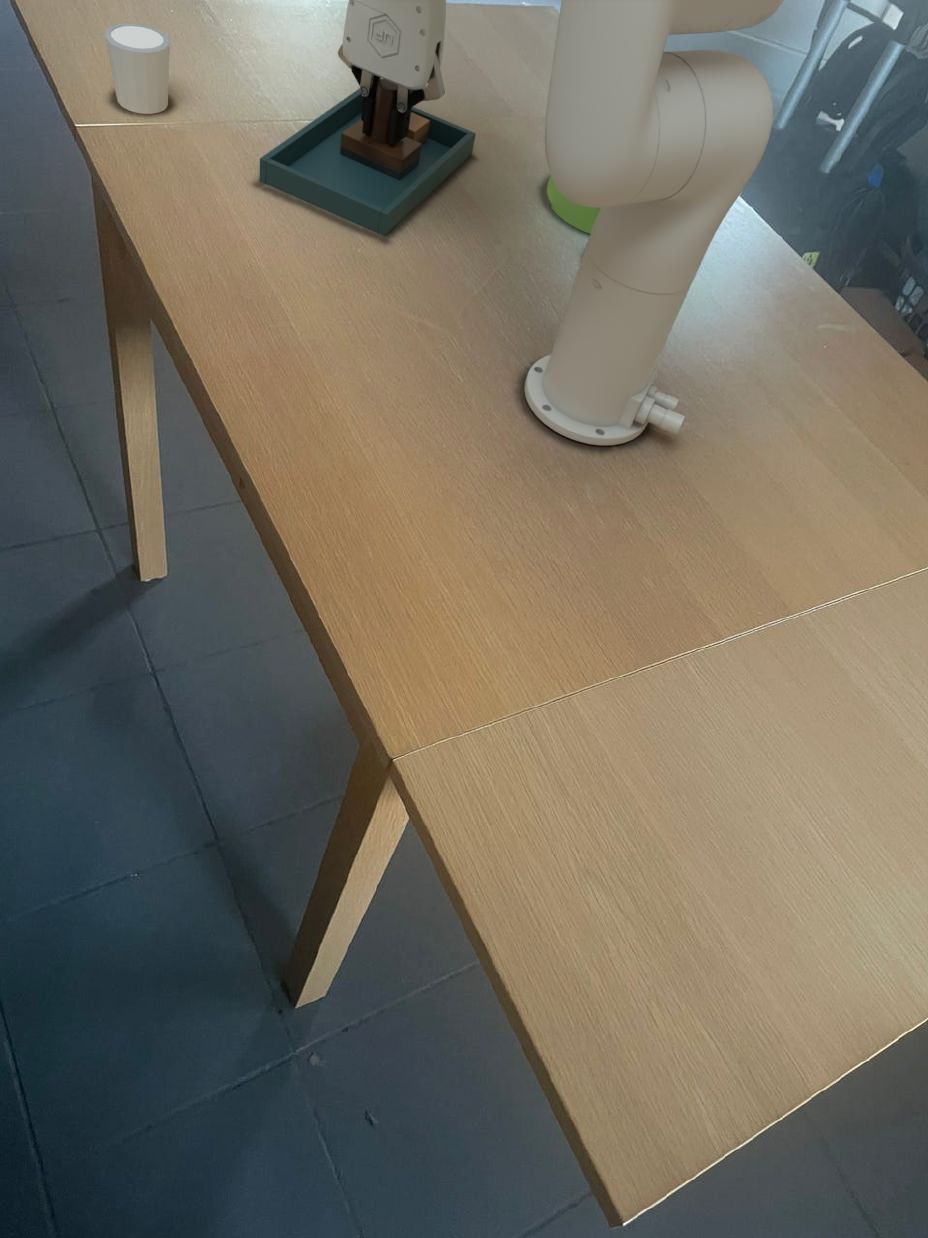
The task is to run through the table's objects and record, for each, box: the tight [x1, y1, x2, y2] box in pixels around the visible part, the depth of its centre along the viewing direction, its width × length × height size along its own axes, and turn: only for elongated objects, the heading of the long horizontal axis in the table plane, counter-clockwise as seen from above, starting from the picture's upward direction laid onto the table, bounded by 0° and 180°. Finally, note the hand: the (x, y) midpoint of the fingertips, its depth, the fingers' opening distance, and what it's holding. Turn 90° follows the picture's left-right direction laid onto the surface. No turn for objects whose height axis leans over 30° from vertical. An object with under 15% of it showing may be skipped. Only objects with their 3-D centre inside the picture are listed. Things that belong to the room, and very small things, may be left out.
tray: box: [259, 87, 477, 237], centre depth 107 cm, size 16×24×3 cm, turn 156°
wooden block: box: [406, 112, 430, 144], centre depth 112 cm, size 4×4×2 cm
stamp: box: [340, 78, 422, 180], centre depth 105 cm, size 8×5×8 cm, turn 65°
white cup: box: [104, 22, 171, 115], centre depth 104 cm, size 7×7×7 cm
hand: (383, 134), depth 107 cm, fingers closed on stamp, 2 cm apart
